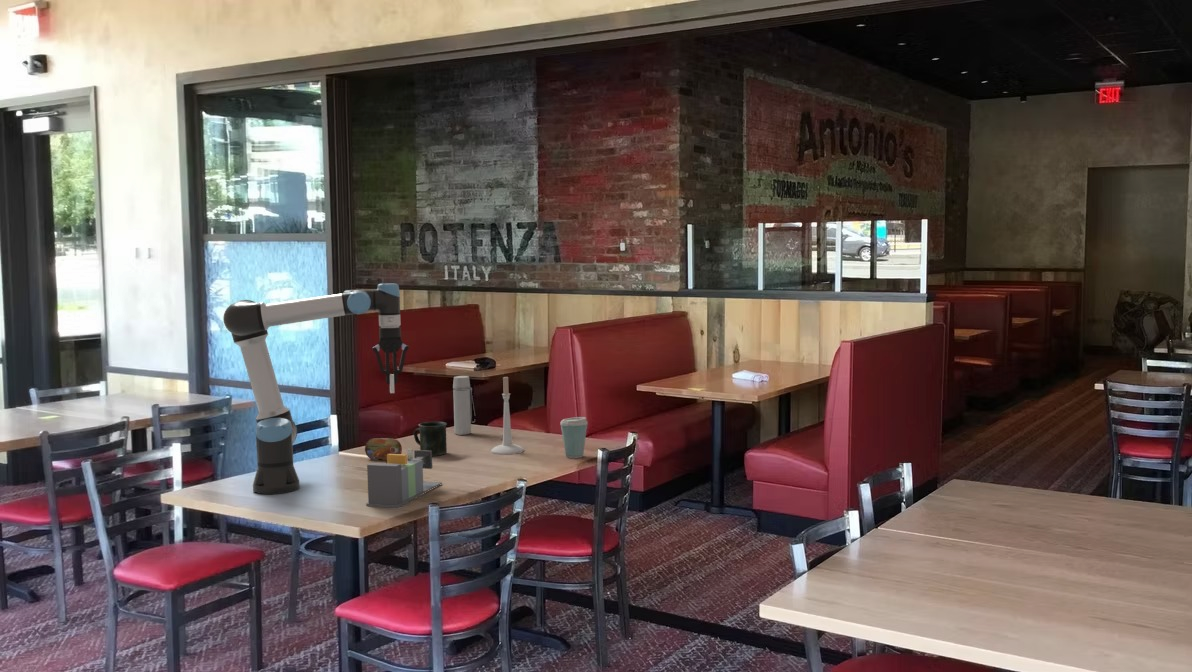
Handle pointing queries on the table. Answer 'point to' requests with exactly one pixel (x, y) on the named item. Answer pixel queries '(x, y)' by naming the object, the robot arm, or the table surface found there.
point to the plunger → (421, 457)
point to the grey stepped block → (396, 483)
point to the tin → (382, 448)
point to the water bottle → (462, 405)
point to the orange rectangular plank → (397, 459)
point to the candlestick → (506, 427)
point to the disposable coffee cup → (574, 436)
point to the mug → (432, 437)
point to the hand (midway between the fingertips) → (392, 392)
